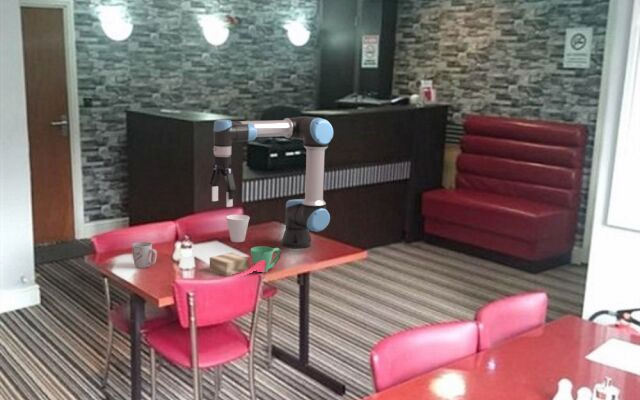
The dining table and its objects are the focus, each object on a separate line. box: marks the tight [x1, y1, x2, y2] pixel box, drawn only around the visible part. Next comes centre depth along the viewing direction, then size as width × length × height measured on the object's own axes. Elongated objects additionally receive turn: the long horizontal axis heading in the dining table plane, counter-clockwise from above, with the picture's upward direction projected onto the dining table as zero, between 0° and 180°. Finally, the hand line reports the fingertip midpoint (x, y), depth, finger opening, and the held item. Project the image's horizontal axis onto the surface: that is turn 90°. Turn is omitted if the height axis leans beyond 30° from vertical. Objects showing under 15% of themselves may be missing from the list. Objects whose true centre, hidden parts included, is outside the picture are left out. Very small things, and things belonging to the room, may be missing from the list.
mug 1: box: [131, 241, 158, 269], centre depth 300 cm, size 11×8×10 cm
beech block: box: [209, 252, 250, 277], centre depth 298 cm, size 12×12×6 cm
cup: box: [225, 214, 250, 243], centre depth 348 cm, size 12×12×12 cm
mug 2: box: [250, 246, 282, 273], centre depth 300 cm, size 15×10×10 cm
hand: (222, 203), depth 301 cm, fingers open, 13 cm apart
